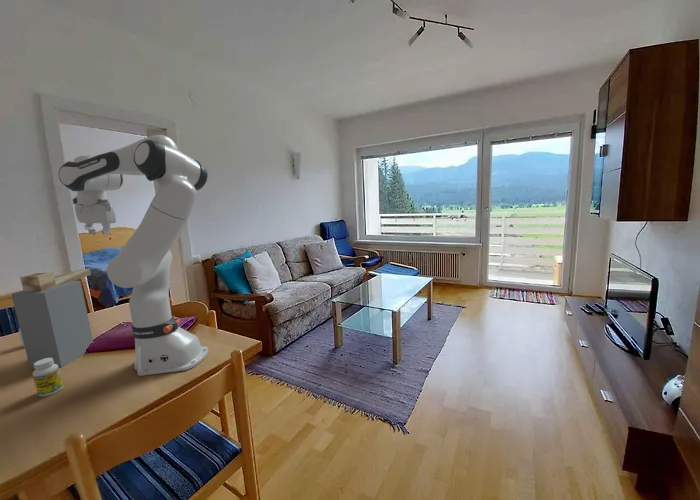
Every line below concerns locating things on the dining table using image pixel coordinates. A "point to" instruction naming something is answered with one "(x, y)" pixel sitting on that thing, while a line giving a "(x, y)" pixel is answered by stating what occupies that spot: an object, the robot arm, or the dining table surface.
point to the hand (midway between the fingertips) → (99, 234)
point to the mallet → (50, 280)
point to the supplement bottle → (47, 377)
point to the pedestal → (54, 323)
